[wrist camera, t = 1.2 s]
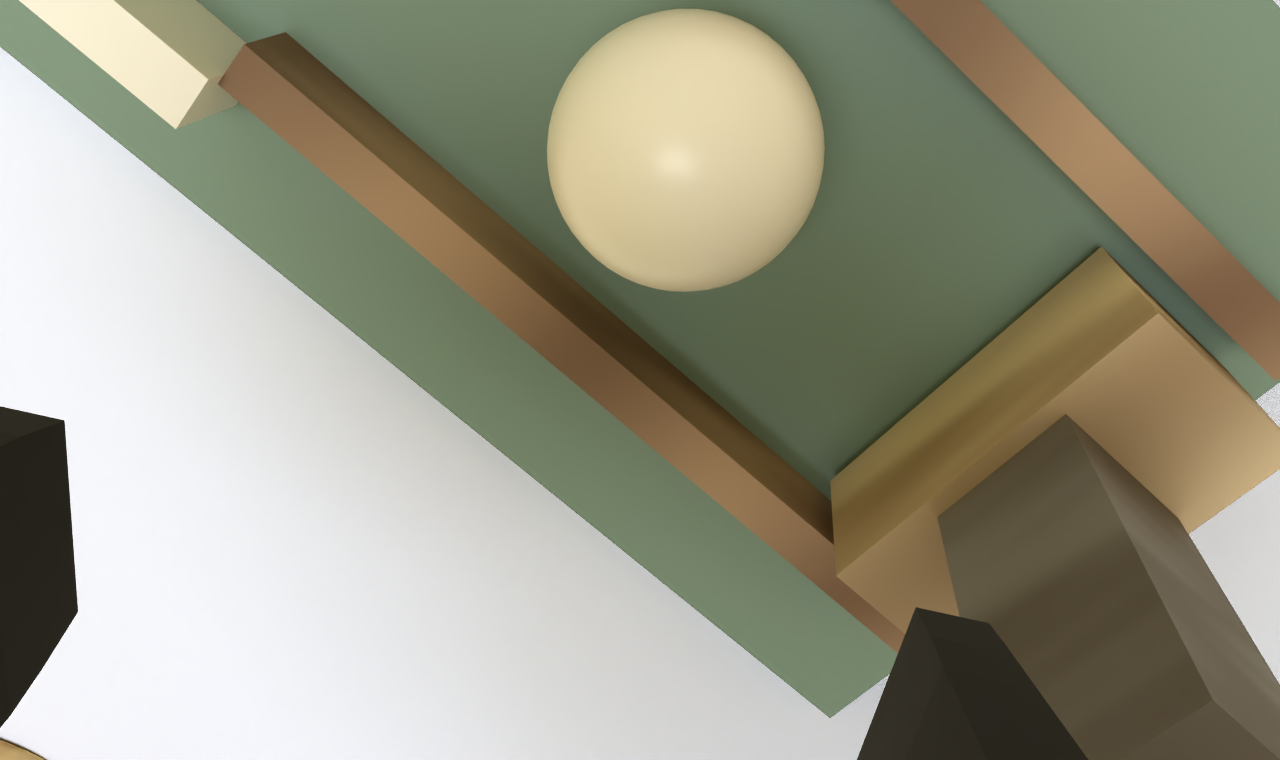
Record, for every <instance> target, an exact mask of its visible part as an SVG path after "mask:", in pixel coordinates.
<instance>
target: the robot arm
mask: <svg viewBox="0 0 1280 760" xmlns="http://www.w3.org/2000/svg"><path fill="white" fill-rule="evenodd" d="M77 612H78V606H77V592H76V578H75V564H74V550H73V536H72V522H71V508H70V494H69V479H68V465H67V451H66V437H65V423H64V420H60V419H55V418H50V417H46V416H41V415H37V414H32V413H28V412H23V411H19V410H14V409H9V408H5V407H0V727H1V726H2V725H3V724H4V722H5V721H6V720H7V719H8V718H9V716H10V715H11V714H12V712H13V711H14V709H15V708H16V706H17V705H18V703H19V702H20V701H21V699H22V698H23V696H24V695H25V693H26V692H27V690H28V689H29V687H30V686H31V684H32V683H33V681H34V680H35V678H36V677H37V675H38V674H39V673H40V671H41V670H42V668H43V667H44V665H45V663H46V662H47V660H48V659H49V657H50V655H51V654H52V652H53V651H54V649H55V647H56V646H57V644H58V643H59V641H60V639H61V638H62V636H63V635H64V633H65V632H66V630H67V628H68V627H69V625H70V624H71V622H72V620H73V619H74V617H75V616H76V614H77ZM857 760H1088V758H1087V757H1086V756H1085V754H1084V753H1083V751H1082V750H1081V749H1080V747H1079V746H1078V745H1077V743H1076V742H1075V740H1074V739H1073V738H1072V736H1071V735H1070V733H1069V732H1068V731H1067V729H1066V728H1065V727H1064V725H1063V724H1062V722H1061V721H1060V720H1059V718H1058V717H1057V715H1056V714H1055V713H1054V711H1053V710H1052V709H1051V707H1050V706H1049V704H1048V703H1047V702H1046V700H1045V699H1044V697H1043V696H1042V695H1041V693H1040V692H1039V690H1038V689H1037V688H1036V686H1035V685H1034V683H1033V682H1032V681H1031V679H1030V678H1029V676H1028V675H1027V674H1026V672H1025V671H1024V669H1023V668H1022V667H1021V665H1020V664H1019V663H1018V661H1017V660H1016V658H1015V657H1014V656H1013V654H1012V653H1011V652H1010V650H1009V649H1008V647H1007V646H1006V645H1005V643H1004V642H1003V641H1002V639H1001V638H1000V637H999V635H998V634H997V633H996V632H995V630H994V629H993V628H992V626H991V625H990V624H989V623H986V622H982V621H977V620H972V619H968V618H963V617H959V616H954V615H950V614H945V613H940V612H936V611H931V610H927V609H922V608H918V607H916V608H915V610H914V613H913V615H912V618H911V621H910V623H909V626H908V628H907V631H906V634H905V636H904V639H903V641H902V644H901V647H900V649H899V652H898V654H897V657H896V660H895V662H894V665H893V668H892V670H891V673H890V675H889V678H888V681H887V683H886V686H885V688H884V691H883V694H882V696H881V699H880V701H879V704H878V707H877V709H876V712H875V714H874V717H873V720H872V722H871V725H870V727H869V730H868V733H867V735H866V738H865V740H864V743H863V746H862V748H861V751H860V753H859V756H858V759H857Z"/></svg>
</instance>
